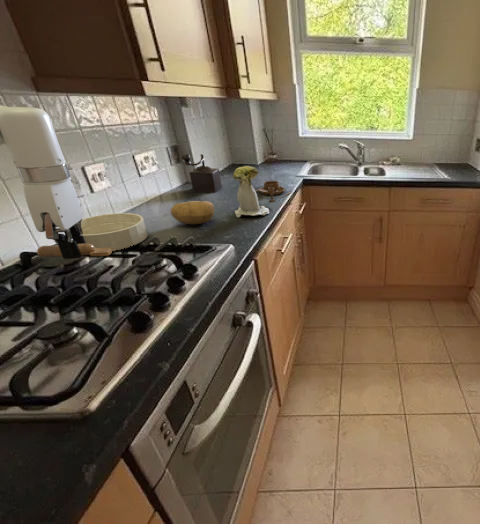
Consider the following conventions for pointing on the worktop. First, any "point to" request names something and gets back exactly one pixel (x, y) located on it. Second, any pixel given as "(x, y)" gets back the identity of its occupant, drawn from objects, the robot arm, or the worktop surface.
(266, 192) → the place setting
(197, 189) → the coffee grinder
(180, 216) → the potato
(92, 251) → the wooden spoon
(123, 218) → the bowl
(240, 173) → the vase of yellow flowers
